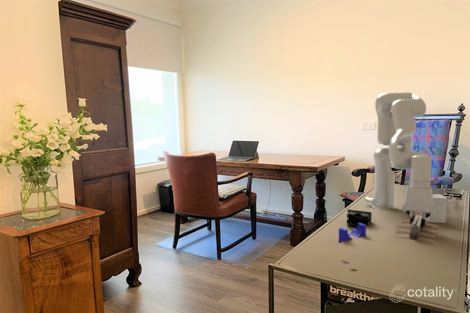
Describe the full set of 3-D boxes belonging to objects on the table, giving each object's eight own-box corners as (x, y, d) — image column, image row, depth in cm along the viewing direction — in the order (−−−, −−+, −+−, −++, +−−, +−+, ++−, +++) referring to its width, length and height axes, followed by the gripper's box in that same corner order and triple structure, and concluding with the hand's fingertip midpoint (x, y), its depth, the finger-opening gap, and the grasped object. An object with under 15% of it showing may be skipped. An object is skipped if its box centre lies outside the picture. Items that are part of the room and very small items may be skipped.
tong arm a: (413, 234, 134) (413, 226, 134) (408, 234, 136) (408, 225, 135) (419, 221, 150) (420, 213, 149) (415, 220, 151) (415, 213, 150)
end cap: (371, 224, 153) (371, 210, 152) (369, 229, 147) (369, 215, 146) (348, 221, 158) (348, 207, 157) (345, 226, 152) (345, 211, 151)
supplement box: (445, 225, 149) (447, 198, 148) (427, 225, 151) (429, 197, 149) (439, 220, 157) (441, 194, 155) (422, 219, 158) (423, 193, 156)
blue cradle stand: (356, 235, 141) (357, 221, 140) (365, 239, 137) (366, 224, 136) (335, 241, 135) (336, 227, 134) (344, 245, 131) (344, 230, 130)
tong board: (433, 247, 127) (434, 230, 126) (393, 239, 135) (393, 224, 134) (437, 228, 147) (438, 213, 146) (402, 222, 155) (403, 208, 154)
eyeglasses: (458, 209, 174) (459, 200, 173) (417, 206, 180) (418, 197, 179) (450, 201, 188) (451, 192, 188) (413, 199, 195) (414, 190, 194)
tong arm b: (420, 236, 133) (420, 227, 133) (415, 235, 134) (415, 226, 134) (424, 222, 149) (424, 214, 148) (419, 221, 150) (420, 213, 149)
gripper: (396, 183, 141) (394, 225, 144) (442, 188, 132) (439, 233, 135) (399, 180, 147) (397, 220, 150) (443, 184, 138) (440, 227, 141)
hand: (417, 226), depth 142 cm, fingers open, 2 cm apart
